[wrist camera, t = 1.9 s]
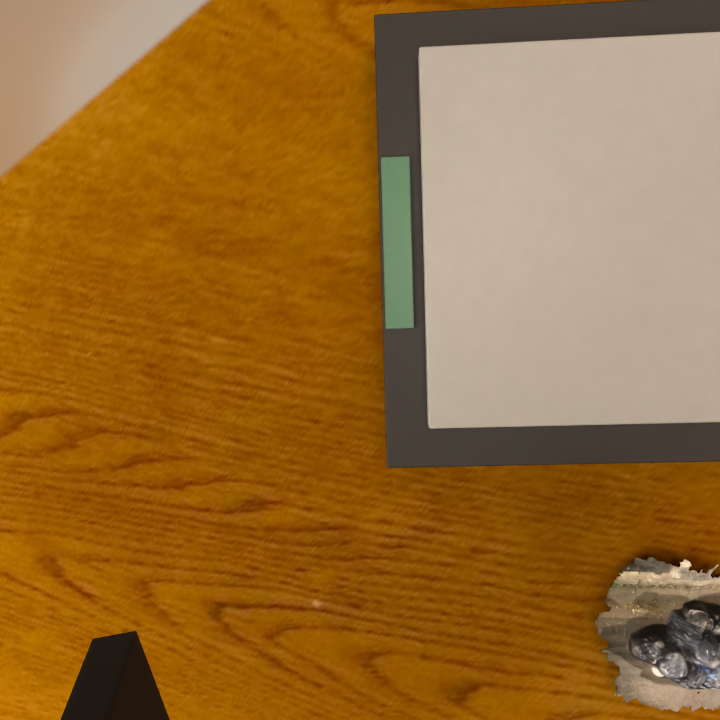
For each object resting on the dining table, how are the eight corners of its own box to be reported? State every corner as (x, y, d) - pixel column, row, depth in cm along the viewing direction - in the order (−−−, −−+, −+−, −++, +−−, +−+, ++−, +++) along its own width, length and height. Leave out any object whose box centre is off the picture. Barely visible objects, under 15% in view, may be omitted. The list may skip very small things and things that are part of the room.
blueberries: (573, 568, 27) (587, 586, 25) (773, 515, 27) (802, 529, 25) (619, 728, 27) (636, 757, 25) (818, 677, 27) (851, 704, 25)
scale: (376, 47, 27) (373, 3, 23) (798, 25, 26) (864, -24, 22) (387, 453, 27) (386, 472, 24) (799, 445, 26) (863, 463, 23)
